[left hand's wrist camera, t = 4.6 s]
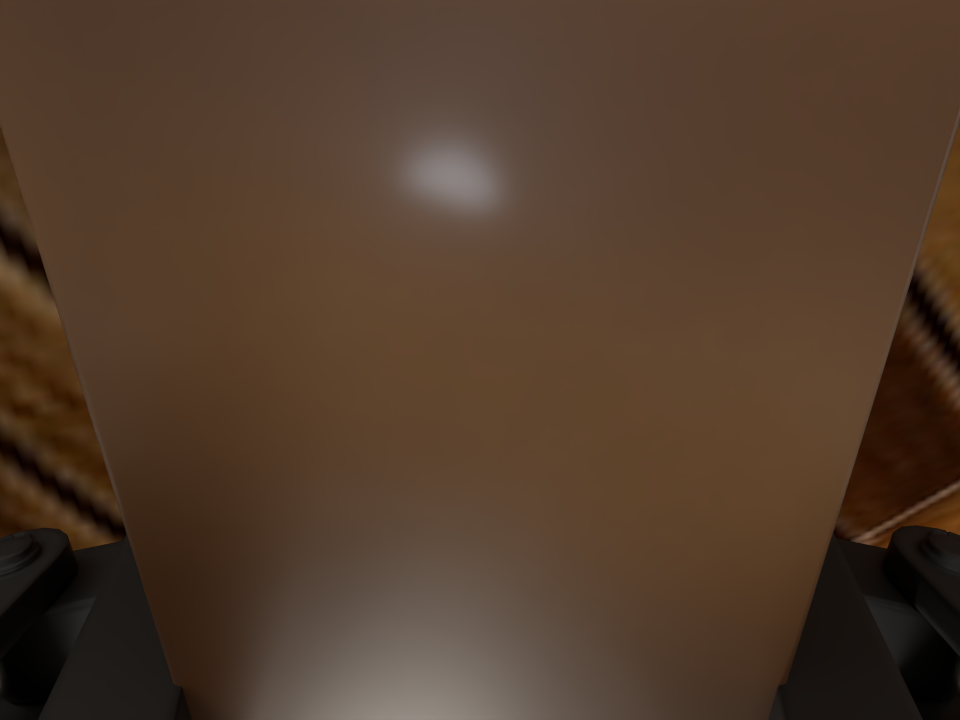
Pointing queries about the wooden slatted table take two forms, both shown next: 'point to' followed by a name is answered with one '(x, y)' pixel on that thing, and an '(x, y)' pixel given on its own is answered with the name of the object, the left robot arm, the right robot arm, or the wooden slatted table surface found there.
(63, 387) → the wooden slatted table surface
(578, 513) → the box
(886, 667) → the left robot arm
